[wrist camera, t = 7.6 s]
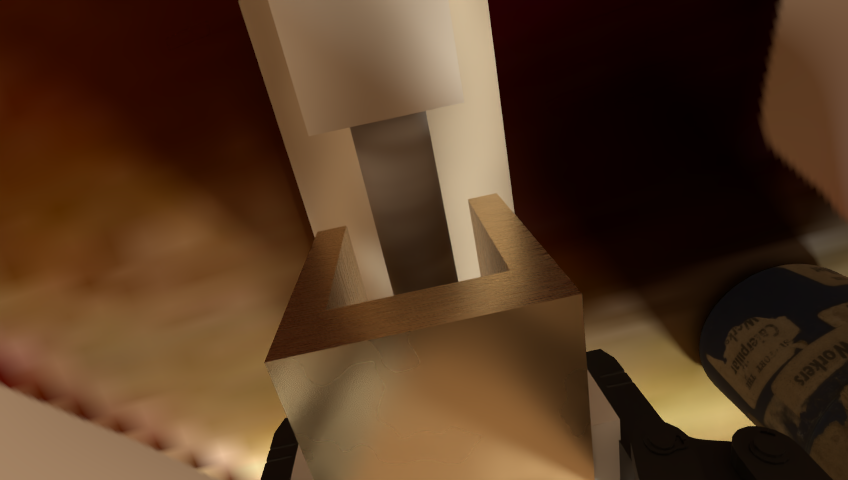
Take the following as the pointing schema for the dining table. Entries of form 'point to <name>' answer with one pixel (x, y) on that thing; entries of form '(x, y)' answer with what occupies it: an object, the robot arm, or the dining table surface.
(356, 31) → the shaft rig
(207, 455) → the dining table surface
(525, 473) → the block
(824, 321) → the canister
